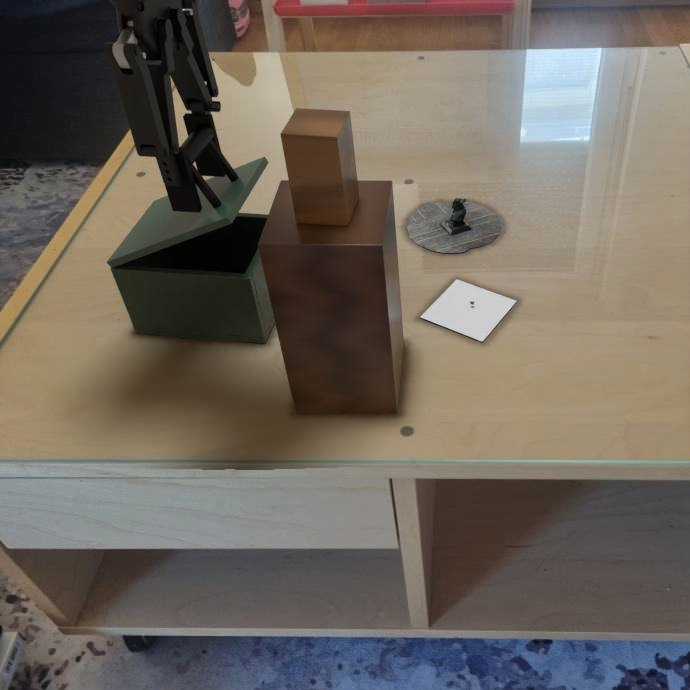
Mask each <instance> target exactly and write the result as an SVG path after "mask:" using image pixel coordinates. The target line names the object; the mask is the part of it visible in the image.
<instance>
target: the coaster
mask: <svg viewBox="0 0 690 690" xmlns="http://www.w3.org/2000/svg"><path fill="white" fill-rule="evenodd" d="M516 303H517V300H515V299H512V298H510V297H508V296H504V295H501V294H498V293H496V292H493V291H491V290H488V289H486V288H482V287H479V286H476V285H474V284H471V283H468V282H466V281H463V280H460V279H458V278H456V279H455V280H454V281H453V282H452V283H451V284H450V285H449V286H448V287H447V288H446V290H444V292H443V293H442V294H441V295H440V296H439V297H438V298H437V299H436V300H435V301H434V302H433V303H432V304H431V305H430V306H429V307H428V308H427V309H426V310H425V311H424V312H423V313H422V314H421V315H420V318H421V319H423V320H426V321H429V322H432V323H433V324H437V325H439V326H441V327H444V328H446V329H449V330H451V331H454V332H457V333H459V334H461V335H464V336H466V337H469V338H472V339H475V340H476V341H479V342H482V343H483V342H484V341H485V339H487V337H488V336H489V335H490V334H491V332H492V331H493V330H494V329H495V328H496V326H497V325H498V324H499V323H500V322H501V321H502V319H503V318H504V317H505V316H506V315H507V313H508V312H509V311H510V310H511V308H513V306H514V305H515V304H516Z"/></svg>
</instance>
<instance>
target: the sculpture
mask: <svg viewBox="0 0 690 690" xmlns="http://www.w3.org/2000/svg"><path fill="white" fill-rule="evenodd" d="M406 223H407V224H406V229H407V234H408V237H409V238H410V239H411V241H413V242H414V243H415V244H416V245H418V246H421V247H422V248H425V249H428V250H430V251H434V252H438V253H442V254H456V253H460V254H461V253H462V254H463V253H465V252H468V251H469V249H473V248H481V247H484V246H486V245H489V244H491V243H492V242H493V241H494V240H495V239H496V238H497V237H499V235H500V234H501V233H502V230H501V229H502V225H501V221H500V217H498V215H496V214H494V213H493V211H492V210H491V209H490V208H487V207H485V206H482V205H479V204H476V203H473V202H470V201H467V198H466V197H465V198H460V197H456V198H455V199H453V201H452V203H449V202H445V201H437V202H433V203H432V202H431V203H428V204H425V205H422V206H420V207H419V208H418V209H417V210H416V211H414V212H413V213H412V214H410V216H408V217H407V222H406Z"/></svg>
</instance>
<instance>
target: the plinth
mask: <svg viewBox="0 0 690 690" xmlns="http://www.w3.org/2000/svg"><path fill="white" fill-rule="evenodd" d="M357 180H358V179H357ZM358 189H359V200H358V203H357V205H356V208H355V210H354V213H353V215H352V218H351V220H350V223H349V225H348V226H333V225H318V224H302V223H296V219H295V213H294V207H293V202H292V196H291V191H290V185H289V179H287V180H286V179H281V180H280V181H279V184H278V187H277V190H276V192H275V195H274V198H273V201H272V204H271V207H270V209H269V212H268V217H267V220H266V223H265V226H264V228H263V231H262V234H261V237H260V240H259V242H258V249H259V253H260V258H261V262H262V267H263V271H264V275H265V280H266V284H267V289H268V293H269V298H270V302H271V306H272V311H273V315H274V320H275V323H274V325H275V328H276V333H277V337H278V341H279V346H280V351H281V354H282V359H283V364H284V367H285V368H284V369H285V373H286V377H287V381H288V386H289V390H290V394H291V399H292V403H293V408H294V412H295V414H377V415H378V414H388V415H389V414H391V415H393V414H395V415H396V414H398V412H399V402H400V401H399V400H400V390H401V381H402V380H401V379H402V372H403V371H402V370H403V361H404V351H405V349H404V348H405V337H404V325H403V311H402V298H401V296H402V295H401V283H400V271H399V269H400V268H399V255H398V243H397V241H398V240H397V228H396V227H397V226H396V214H395V213H396V212H395V201H394V185H393V181H392V180H363V179H362V180H361V179H360V180H358Z"/></svg>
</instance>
